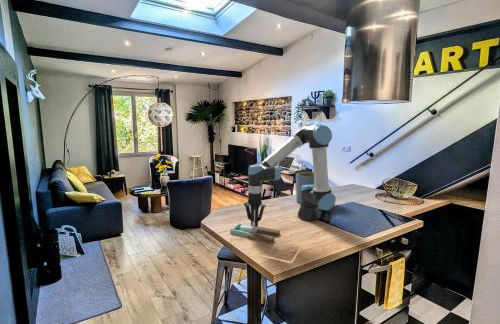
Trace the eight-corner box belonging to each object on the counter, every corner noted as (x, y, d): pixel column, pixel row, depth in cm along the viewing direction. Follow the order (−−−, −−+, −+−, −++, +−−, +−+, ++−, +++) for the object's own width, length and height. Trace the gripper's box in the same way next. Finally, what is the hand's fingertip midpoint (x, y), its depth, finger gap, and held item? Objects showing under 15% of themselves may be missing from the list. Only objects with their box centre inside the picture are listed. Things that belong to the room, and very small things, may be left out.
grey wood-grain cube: (248, 231, 160) (248, 224, 160) (254, 232, 159) (254, 226, 158) (245, 233, 157) (245, 227, 156) (251, 235, 155) (251, 228, 155)
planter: (305, 207, 209) (306, 178, 206) (290, 199, 230) (291, 172, 226) (329, 204, 218) (330, 176, 214) (312, 197, 239) (313, 171, 235)
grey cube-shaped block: (242, 230, 162) (242, 224, 162) (248, 231, 161) (248, 225, 160) (239, 233, 159) (239, 226, 158) (245, 234, 157) (245, 227, 156)
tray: (239, 228, 167) (239, 223, 167) (256, 231, 162) (256, 226, 162) (230, 234, 158) (230, 229, 157) (248, 238, 152) (248, 233, 152)
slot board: (257, 231, 164) (257, 226, 163) (279, 235, 158) (279, 230, 157) (247, 239, 151) (247, 234, 151) (271, 245, 145) (271, 239, 145)
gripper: (241, 192, 152) (241, 232, 156) (262, 195, 147) (262, 236, 150) (247, 189, 159) (247, 227, 163) (267, 192, 154) (267, 231, 157)
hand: (254, 231), depth 157 cm, fingers closed
